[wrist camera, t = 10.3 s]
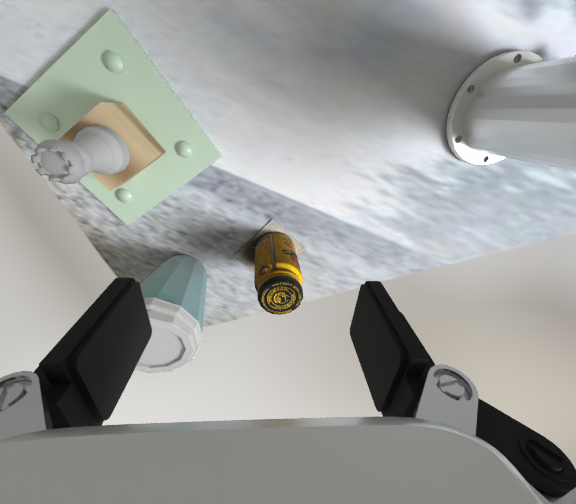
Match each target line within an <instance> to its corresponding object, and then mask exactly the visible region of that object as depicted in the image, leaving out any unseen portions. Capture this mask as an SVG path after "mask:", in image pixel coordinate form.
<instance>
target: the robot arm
mask: <svg viewBox="0 0 576 504" xmlns="http://www.w3.org/2000/svg"><path fill="white" fill-rule="evenodd" d="M446 131H447V140H448V144H449V146H450V148H451V151H452V152H453V153H454V154H455V156H456V157H457V158H459V159H460V160H462V161H464V162H467V163H470V164H475V165H487V164H492V163H495V162H498V161H500V160H503V159H504V158H510V159H515V160H520V161H526V162H531V163H536V164H541V165H546V166H551V167H556V168H562V169H567V170H572V171H576V55H575V56H574V57H569V58H563V59H557V60H551V61H544V60H543V59H542V58H541V57H540V56H539V55H537V54H535V53H533V52H531V51H525V50H518V51H511V52H507V53H503V54H500V55H497V56H495V57H493V58H491V59H489V60H488V61H486V62H485V63H483V64H482V65H480V66H479V67H478V68H477V69H476V70H475V71H474V72H473V73H471V75H470V76H469V77H468V78H467V79H466V81H465V82H464V83H463V84H462V86H461V88H460V89H459V91H458V92H457V94H456V96H455V98H454V100H453V102H452V104H451V107H450V111H449V114H448V119H447V125H446ZM151 335H152V327H151V324H150V320H149V316H148V313H147V309H146V305H145V302H144V298H143V294H142V291H141V287H140V284H139V282H135V280H134V278H116V279H115V280H114V281H113V282H112V283H111V284H110V285H109V286H108V287H107V289H106V290H105V291H104V292H103V293H102V294H101V295H100V296H99V298H98V299H97V300H96V301H95V302H94V303H93V304H92V305H91V306H90V308H89V309H88V310H87V311H86V312H85V313H84V314H83V316H81V318H80V319H79V320H78V321H77V322H76V323H75V324H74V325H73V327H72V328H71V329H70V330H69V331H68V332H67V333H66V334H65V336H64V337H63V338H62V339H61V340H60V341H59V342H58V344H57V345H56V346H55V347H54V348H53V349H52V350H51V351H50V352H49V353H48V355H47V356H46V357H45V358H44V359H43V360H42V361H41V362H40V363H39V365H40V366H39V367H38V368H37V369H36V370H35V371H34V372H30V371H21V372H16V373H12V374H9V375H7V376H4V377H2V378H0V504H576V469H575V468H574V466H573V464H572V463H571V461H570V460H569V459H568V457H567V456H566V455H565V454H564V453H563V452H562V451H561V450H560V449H559V448H558V447H557V446H556V445H555V444H554V443H552V442H551V441H549V440H548V439H546V438H545V437H544V436H542V435H540V434H539V433H537V432H535V431H533V430H532V429H530V428H528V427H527V426H525V425H523V424H521V423H520V422H518V421H516V420H515V419H512V418H511V417H510V416H508V415H506V414H504V413H503V412H501V411H499V410H498V409H496V408H494V407H493V406H491V405H489V404H487V403H486V402H484V401H482V400H480V399H479V398H478V392H477V389H476V387H475V386H474V384H473V383H472V382H471V381H470V379H469V378H468V377H467V376H465V375H464V374H463V373H462V372H460V371H458V370H457V369H455V368H452V367H450V366H447V365H435V364H434V362H433V360H432V359H431V357H430V356H429V354H428V353H427V351H426V350H425V348H424V346H423V345H422V343H421V342H420V341H419V339H418V337H417V336H416V334H415V333H414V331H413V330H412V328H411V326H410V325H409V323H408V322H407V320H406V318H405V317H404V315H403V314H402V313H401V312H399V310H398V309H397V307H396V306H395V304H394V302H393V301H392V299H391V298H390V296H389V295H388V293H387V291H386V290H385V288H384V287H383V285H382V284H381V282H379V281H366V282H365V284H362V285H361V287H360V291H359V295H358V299H357V303H356V307H355V311H354V316H353V319H352V323H351V327H350V335H351V339H352V342H353V344H354V347H355V350H356V353H357V356H358V358H359V361H360V364H361V367H362V370H363V373H364V376H365V378H366V381H367V384H368V387H369V390H370V392H371V395H372V398H373V401H374V404H375V407H376V409H377V410H378V411H379V412H382V414H383V417H336V418H335V417H334V418H299V419H298V418H297V419H263V420H234V421H205V422H204V421H203V422H178V423H177V422H176V423H153V424H152V423H150V424H125V425H106V426H101V425H102V423H103V421H104V420H107V419H109V417H110V416H111V414H112V412H113V410H114V408H115V406H116V404H117V402H118V400H119V398H120V396H121V394H122V392H123V391H124V389H125V387H126V385H127V383H128V381H129V379H130V377H131V375H132V373H133V371H134V369H135V367H136V365H137V363H138V361H139V360H140V358H141V356H142V354H143V352H144V350H145V348H146V346H147V344H148V342H149V340H150V338H151Z"/></svg>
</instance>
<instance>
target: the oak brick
mask: <svg viewBox="0 0 576 504" xmlns="http://www.w3.org/2000/svg"><path fill="white" fill-rule="evenodd" d="M90 126H104V127H107V128H110V129H112V130H113V131H115V132H116V133H117V134H119V135H120V136H121V137H122V139H123V140H124V141H125V143H126V144H127V147H128V150H129V153H130V158H129V164H128V165H127V167H126V168H125V170H123V171H121V172H119V173H115V174H110V175H102V174H98V173H95V172H92V171H90V173H91V174H92V175H93V176H94V177H95V178H96V179H97V180H98V181H99V182H100V183H101V184H103V185H104V186H105V187H106V188H107V189H108V190H109V191H112V190H114V189H116V188H117V187H119V186H121V185H123V184H125V183H126V182H128V181H130V180H131V179H133V178H134V177H135V176H136V175H138V174H139V173H140V172H141V171H143V170H144V169H145V168H147V167H148V166H149V165H150V164H152V163H153V162H154V161H155V160H157V159H158V158H159V157H160V156H162V155H163V154H164V153H166V151H165V150H164V149H163V148H162V146H161V145H160V144H159V143H158V142H157V141H156V139H155V138H154V137H153V136H152V135H151V134H150V132H149V131H148V130H147V129H146V128H145V127H144V125H143V124H142V123H141V122H140V121H139V120H138V118H137V117H136V116H135V115H134V114H133V112H132V111H131V110H130V109H129V108H128V107H127V105H126V104H125V103H108V102H100V103H99V104H97V105H96V106H95V107H94V108H93V109H92V110H91V111H90V112H89V113H87V114H86V115H85V116H84V117H83V118H82V119H81V120H80V121H78V122H77V123H76V124H75V125H74V126H73V127H72V128H71V129H70V130H68V131H67V132H66V133H65V134H64V135H63V136H62V137H61V138H60V139H58V140H59V141H67V140H69V141H72V142H73V141H74V138H75V136H76V135H77V133H78V132H79V131H81V130H83V129H84V128H86V127H90Z"/></svg>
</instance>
